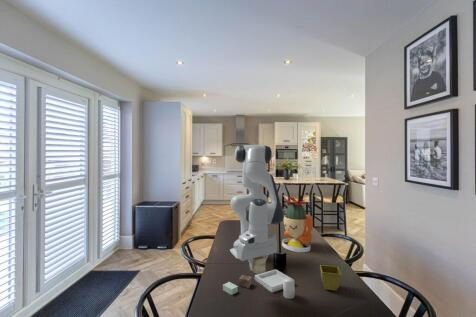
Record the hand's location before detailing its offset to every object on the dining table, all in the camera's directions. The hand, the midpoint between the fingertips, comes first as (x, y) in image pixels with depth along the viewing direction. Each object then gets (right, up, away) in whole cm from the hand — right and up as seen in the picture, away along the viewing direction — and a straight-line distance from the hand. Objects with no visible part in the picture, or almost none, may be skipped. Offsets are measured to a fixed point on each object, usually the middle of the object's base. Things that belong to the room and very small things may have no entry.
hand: (257, 265), depth 114 cm
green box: (-13, -14, +3) cm, 19 cm away
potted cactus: (+34, -14, +63) cm, 73 cm away
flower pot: (+36, -14, +7) cm, 39 cm away
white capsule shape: (+14, -14, 0) cm, 20 cm away
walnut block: (-5, -14, +9) cm, 17 cm away
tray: (+9, -14, +12) cm, 20 cm away
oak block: (0, -2, 0) cm, 2 cm away
